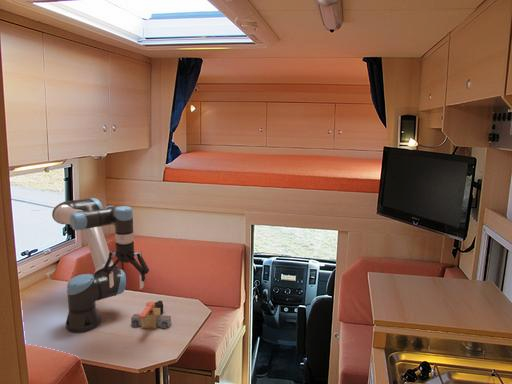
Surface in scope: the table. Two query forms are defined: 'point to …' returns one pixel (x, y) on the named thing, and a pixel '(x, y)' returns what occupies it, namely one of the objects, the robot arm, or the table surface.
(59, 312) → the table surface
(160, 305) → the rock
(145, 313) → the lever
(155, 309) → the valve
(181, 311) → the table surface
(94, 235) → the robot arm
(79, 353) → the table surface
